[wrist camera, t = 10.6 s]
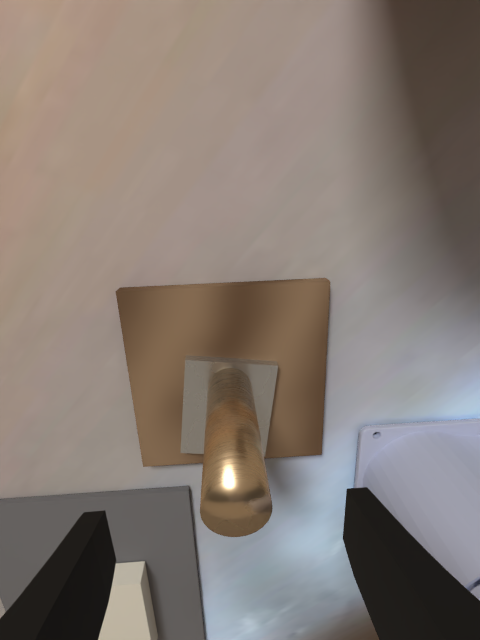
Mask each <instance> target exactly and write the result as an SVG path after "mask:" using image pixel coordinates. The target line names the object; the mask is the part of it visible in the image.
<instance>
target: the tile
mask: <svg viewBox="0 0 480 640" xmlns="http://www.w3.org/2000/svg"><path fill="white" fill-rule="evenodd" d="M157 638H158V633H157V628H156V622H155V616H154V610H153V605H152V599H151V593H150V587H149V582H148V576H147V570H146V564H145V561H140V562H128V563H116V566H115V571H114V577H113V582H112V588H111V593H110V598H109V603H108V606H107V610H106V613H105V617H104V620H103V624H102V627H101V631H100V634H99V638H98V640H157Z"/></svg>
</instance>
